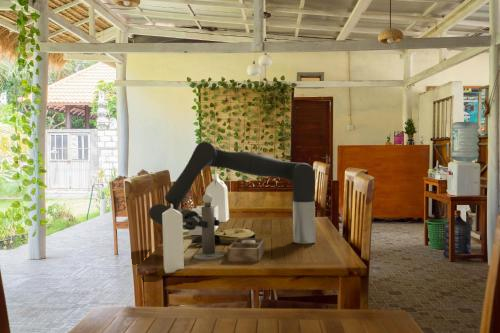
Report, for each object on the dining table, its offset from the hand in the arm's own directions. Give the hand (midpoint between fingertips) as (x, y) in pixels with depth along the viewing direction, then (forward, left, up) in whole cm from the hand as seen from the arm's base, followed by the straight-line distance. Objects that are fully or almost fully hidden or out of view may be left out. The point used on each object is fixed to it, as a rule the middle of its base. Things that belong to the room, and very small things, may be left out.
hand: (212, 223), depth 166 cm
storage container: (+18, -58, -13) cm, 62 cm away
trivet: (+2, -2, -13) cm, 13 cm away
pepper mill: (+2, -2, -11) cm, 11 cm away
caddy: (-12, -3, -13) cm, 18 cm away
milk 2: (+18, -91, -13) cm, 94 cm away
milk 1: (+10, +15, -13) cm, 23 cm away
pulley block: (+2, -31, -13) cm, 34 cm away
